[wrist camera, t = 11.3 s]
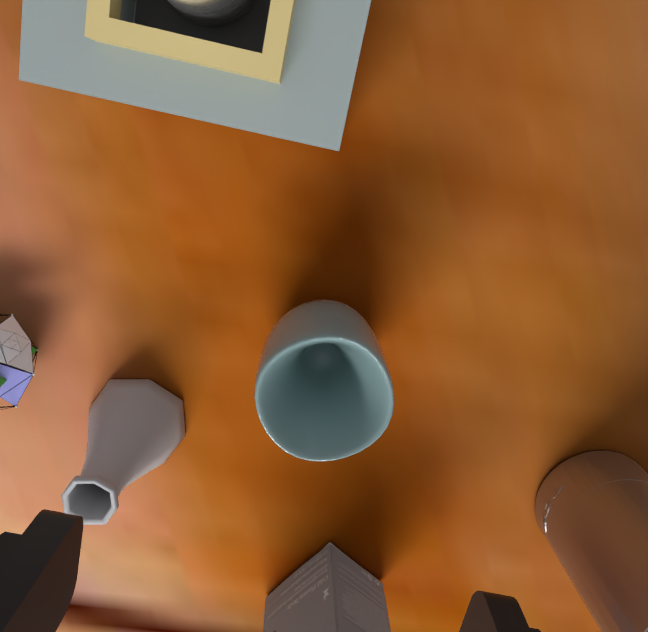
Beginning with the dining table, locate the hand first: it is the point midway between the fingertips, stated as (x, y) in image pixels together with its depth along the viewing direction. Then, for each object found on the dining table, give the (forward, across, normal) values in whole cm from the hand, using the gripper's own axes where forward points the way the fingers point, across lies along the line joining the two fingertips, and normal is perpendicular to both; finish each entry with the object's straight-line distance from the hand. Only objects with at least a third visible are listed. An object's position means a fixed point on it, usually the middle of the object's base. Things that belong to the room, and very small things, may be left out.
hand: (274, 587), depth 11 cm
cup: (+29, -2, +4) cm, 29 cm away
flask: (+29, +10, +13) cm, 34 cm away
